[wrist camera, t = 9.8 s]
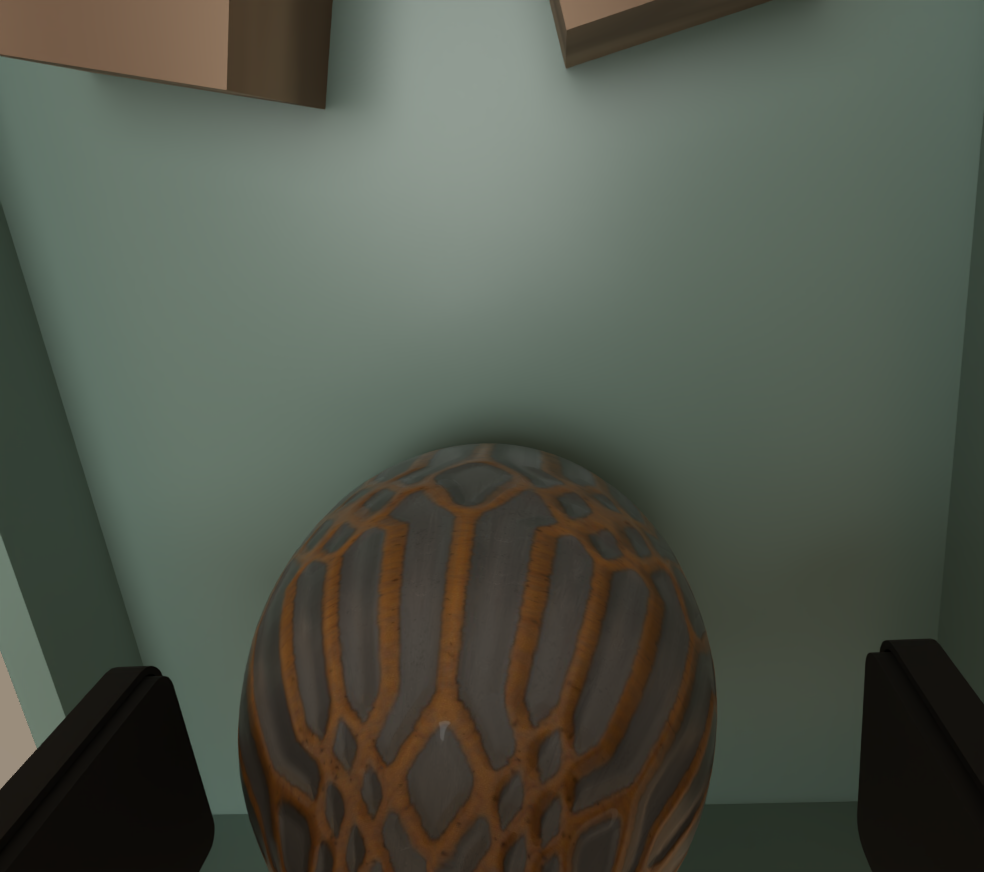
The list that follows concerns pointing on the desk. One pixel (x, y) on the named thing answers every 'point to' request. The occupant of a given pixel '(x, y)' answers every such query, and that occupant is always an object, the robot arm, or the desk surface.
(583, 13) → the walnut cube
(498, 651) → the vase
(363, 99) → the tray
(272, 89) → the walnut cube
